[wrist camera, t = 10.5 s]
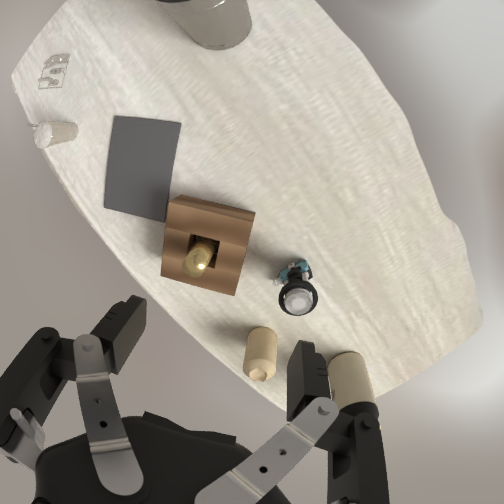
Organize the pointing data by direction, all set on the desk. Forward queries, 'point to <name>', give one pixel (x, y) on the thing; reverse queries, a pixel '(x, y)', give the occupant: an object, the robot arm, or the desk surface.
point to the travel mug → (351, 385)
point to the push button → (296, 289)
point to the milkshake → (53, 133)
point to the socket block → (211, 226)
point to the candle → (260, 354)
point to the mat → (141, 166)
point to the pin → (199, 256)
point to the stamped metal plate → (49, 63)
